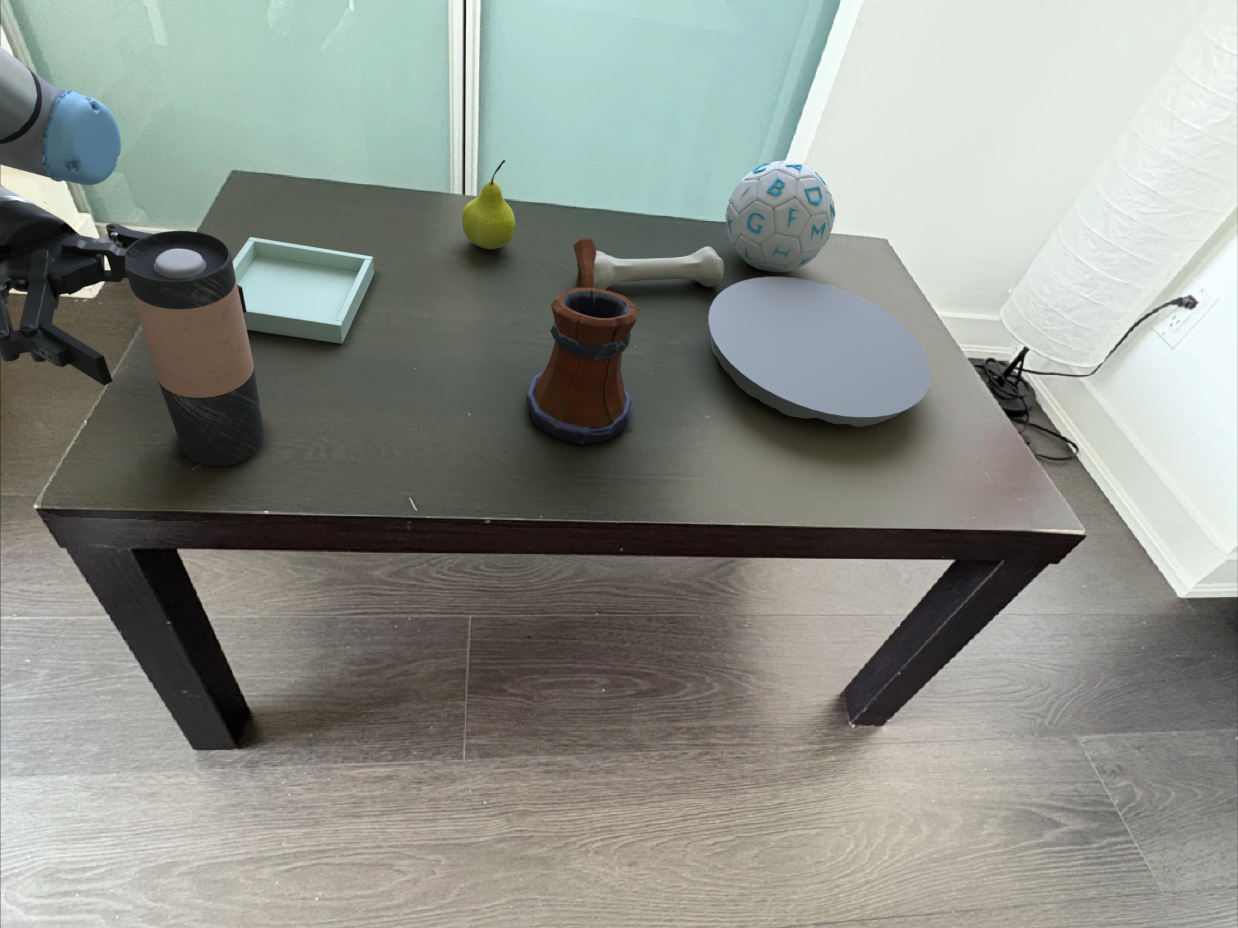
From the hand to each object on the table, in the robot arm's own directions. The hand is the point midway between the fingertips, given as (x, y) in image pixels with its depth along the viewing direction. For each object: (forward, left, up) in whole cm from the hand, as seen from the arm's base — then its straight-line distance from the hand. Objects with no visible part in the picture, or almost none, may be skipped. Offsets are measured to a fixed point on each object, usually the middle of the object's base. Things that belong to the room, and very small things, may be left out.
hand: (177, 333), depth 68 cm
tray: (+10, +21, -11) cm, 25 cm away
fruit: (+35, +31, -11) cm, 48 cm away
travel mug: (+2, -2, -11) cm, 11 cm away
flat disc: (+69, 0, -11) cm, 70 cm away
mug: (+38, 0, -11) cm, 39 cm away
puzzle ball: (+75, +24, -11) cm, 79 cm away
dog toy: (+55, +20, -11) cm, 59 cm away
